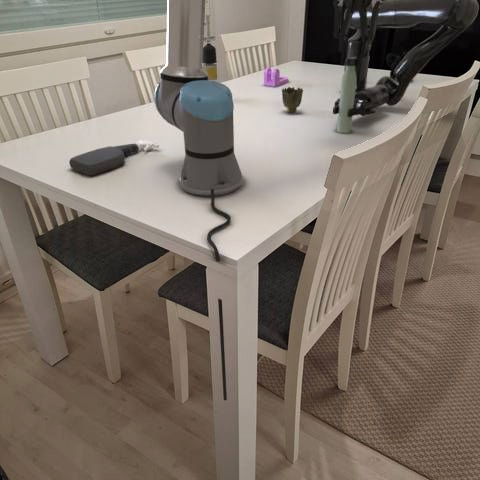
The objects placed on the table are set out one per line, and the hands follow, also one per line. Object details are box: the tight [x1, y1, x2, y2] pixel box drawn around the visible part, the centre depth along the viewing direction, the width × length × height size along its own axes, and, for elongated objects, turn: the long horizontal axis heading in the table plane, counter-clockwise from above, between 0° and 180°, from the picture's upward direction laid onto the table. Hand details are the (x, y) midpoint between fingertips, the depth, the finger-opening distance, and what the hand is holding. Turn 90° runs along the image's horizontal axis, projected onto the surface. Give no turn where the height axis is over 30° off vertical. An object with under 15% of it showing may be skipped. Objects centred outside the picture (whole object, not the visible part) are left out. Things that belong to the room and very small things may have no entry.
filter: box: [202, 14, 218, 82], centre depth 171 cm, size 6×6×30 cm
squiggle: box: [385, 51, 409, 82], centre depth 198 cm, size 11×10×15 cm
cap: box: [343, 57, 357, 66], centre depth 131 cm, size 4×4×2 cm
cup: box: [281, 86, 304, 114], centre depth 159 cm, size 8×7×8 cm
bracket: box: [263, 67, 289, 88], centre depth 197 cm, size 13×6×7 cm, turn 143°
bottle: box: [336, 66, 357, 134], centre depth 137 cm, size 4×4×21 cm
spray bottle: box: [68, 139, 160, 177], centre depth 124 cm, size 3×11×24 cm
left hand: (350, 64), depth 132 cm, fingers closed on cap, 4 cm apart
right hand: (341, 112), depth 137 cm, fingers closed on bottle, 4 cm apart
